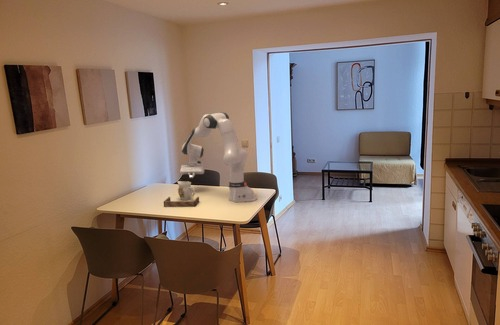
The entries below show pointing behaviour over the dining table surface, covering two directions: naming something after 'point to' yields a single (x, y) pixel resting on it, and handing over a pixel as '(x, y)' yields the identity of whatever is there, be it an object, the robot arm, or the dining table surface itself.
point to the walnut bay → (180, 203)
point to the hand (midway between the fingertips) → (191, 177)
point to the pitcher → (185, 190)
